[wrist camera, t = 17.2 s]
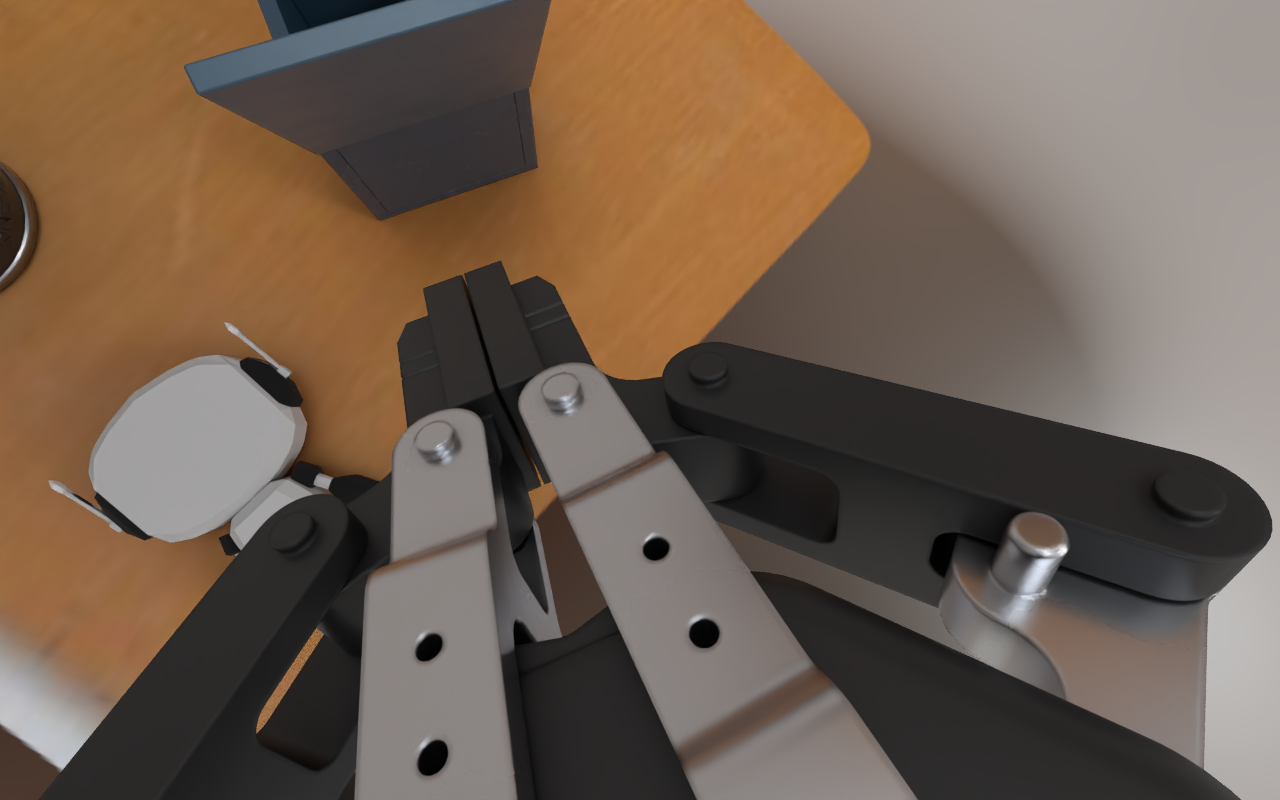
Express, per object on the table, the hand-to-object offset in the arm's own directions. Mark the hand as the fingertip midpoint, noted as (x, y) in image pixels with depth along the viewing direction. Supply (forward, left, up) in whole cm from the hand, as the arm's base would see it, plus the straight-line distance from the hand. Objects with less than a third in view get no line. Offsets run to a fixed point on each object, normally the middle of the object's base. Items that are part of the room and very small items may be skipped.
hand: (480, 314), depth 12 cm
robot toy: (-17, -3, -28) cm, 33 cm away
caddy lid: (-3, +12, -12) cm, 17 cm away
